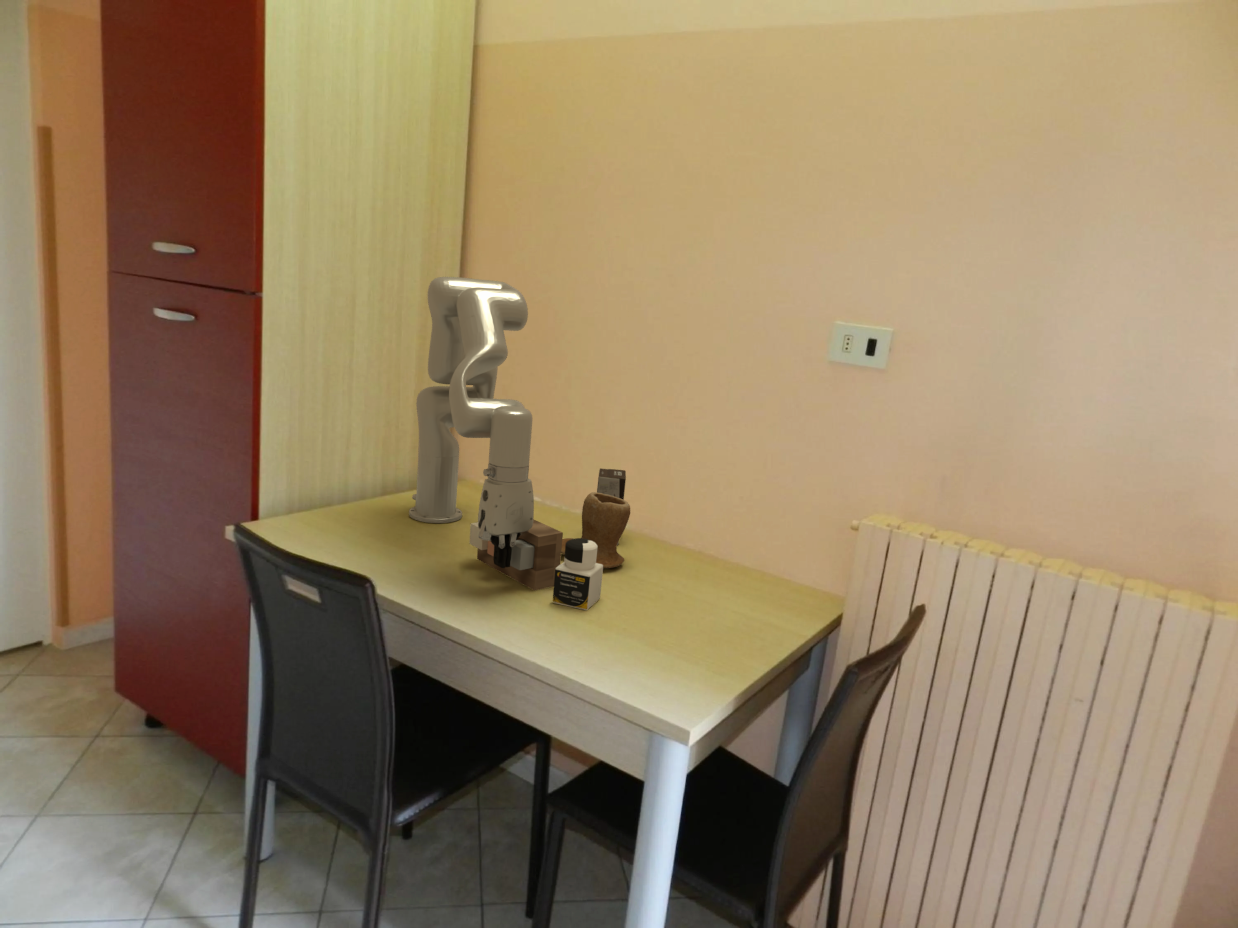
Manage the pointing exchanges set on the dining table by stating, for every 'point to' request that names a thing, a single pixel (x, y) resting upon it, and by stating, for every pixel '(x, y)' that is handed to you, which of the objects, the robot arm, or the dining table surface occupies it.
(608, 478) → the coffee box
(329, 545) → the dining table surface
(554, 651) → the dining table surface
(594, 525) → the stone cup
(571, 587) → the medicine bottle
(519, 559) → the slate key
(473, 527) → the ivory key
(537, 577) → the wooden button box
